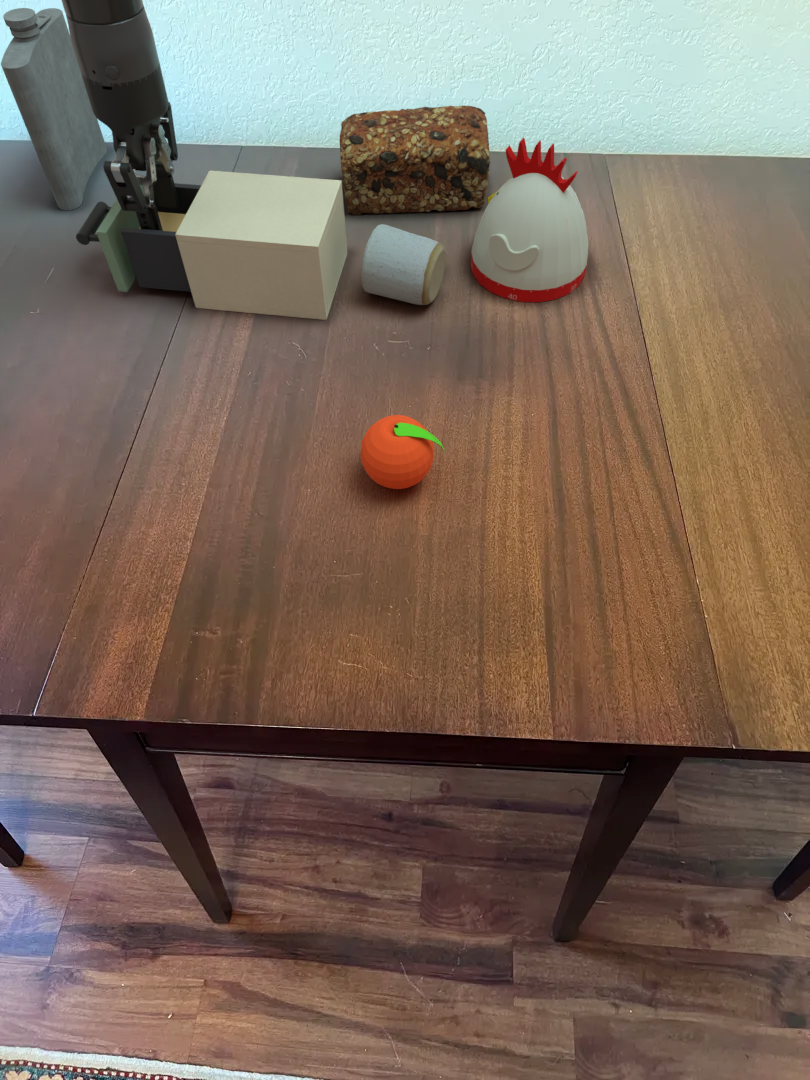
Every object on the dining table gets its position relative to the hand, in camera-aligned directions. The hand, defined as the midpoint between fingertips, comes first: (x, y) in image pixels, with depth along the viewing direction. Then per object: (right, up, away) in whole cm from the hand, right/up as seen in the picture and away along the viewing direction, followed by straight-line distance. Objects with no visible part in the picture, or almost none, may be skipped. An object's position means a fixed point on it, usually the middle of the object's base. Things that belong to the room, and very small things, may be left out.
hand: (161, 220), depth 89 cm
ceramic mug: (+28, -7, +4) cm, 29 cm away
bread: (+29, +9, +15) cm, 34 cm away
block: (0, -3, +4) cm, 5 cm away
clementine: (+28, -31, -13) cm, 43 cm away
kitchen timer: (+43, -3, +6) cm, 43 cm away
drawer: (0, -3, +5) cm, 6 cm away
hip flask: (-17, +13, +18) cm, 28 cm away
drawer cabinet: (+12, -5, +5) cm, 14 cm away
